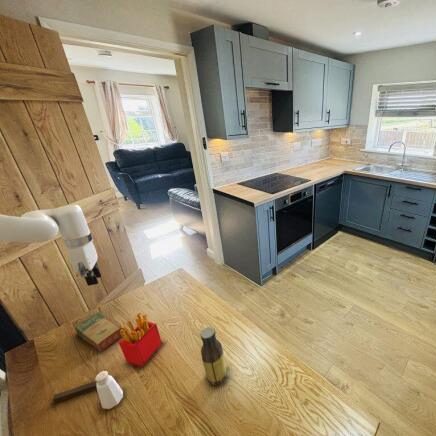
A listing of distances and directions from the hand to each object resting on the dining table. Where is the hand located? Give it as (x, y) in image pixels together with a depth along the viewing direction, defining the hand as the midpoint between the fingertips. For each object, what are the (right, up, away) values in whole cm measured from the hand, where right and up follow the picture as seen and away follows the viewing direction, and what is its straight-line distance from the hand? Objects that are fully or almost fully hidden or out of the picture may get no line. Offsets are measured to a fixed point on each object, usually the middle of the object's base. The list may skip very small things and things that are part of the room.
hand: (94, 280), depth 92 cm
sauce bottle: (+52, -27, -15) cm, 61 cm away
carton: (+4, -20, -2) cm, 21 cm away
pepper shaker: (+24, -29, -22) cm, 44 cm away
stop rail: (+14, -28, -20) cm, 37 cm away
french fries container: (+25, -23, -9) cm, 35 cm away
